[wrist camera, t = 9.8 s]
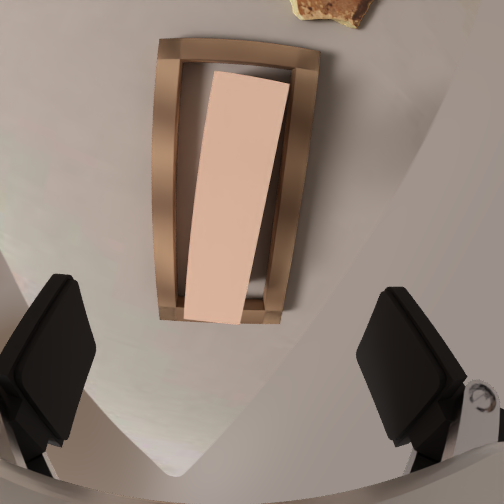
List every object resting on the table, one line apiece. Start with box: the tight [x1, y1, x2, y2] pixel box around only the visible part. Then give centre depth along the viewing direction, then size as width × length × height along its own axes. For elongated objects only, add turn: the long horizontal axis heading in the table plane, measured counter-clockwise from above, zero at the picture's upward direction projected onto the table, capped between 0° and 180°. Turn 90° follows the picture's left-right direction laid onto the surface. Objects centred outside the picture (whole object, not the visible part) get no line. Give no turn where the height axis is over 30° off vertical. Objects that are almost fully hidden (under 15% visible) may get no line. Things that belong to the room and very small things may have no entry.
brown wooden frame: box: [152, 38, 321, 324], centre depth 21 cm, size 22×10×2 cm, turn 175°
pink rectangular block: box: [184, 71, 290, 325], centre depth 20 cm, size 16×4×6 cm, turn 170°
